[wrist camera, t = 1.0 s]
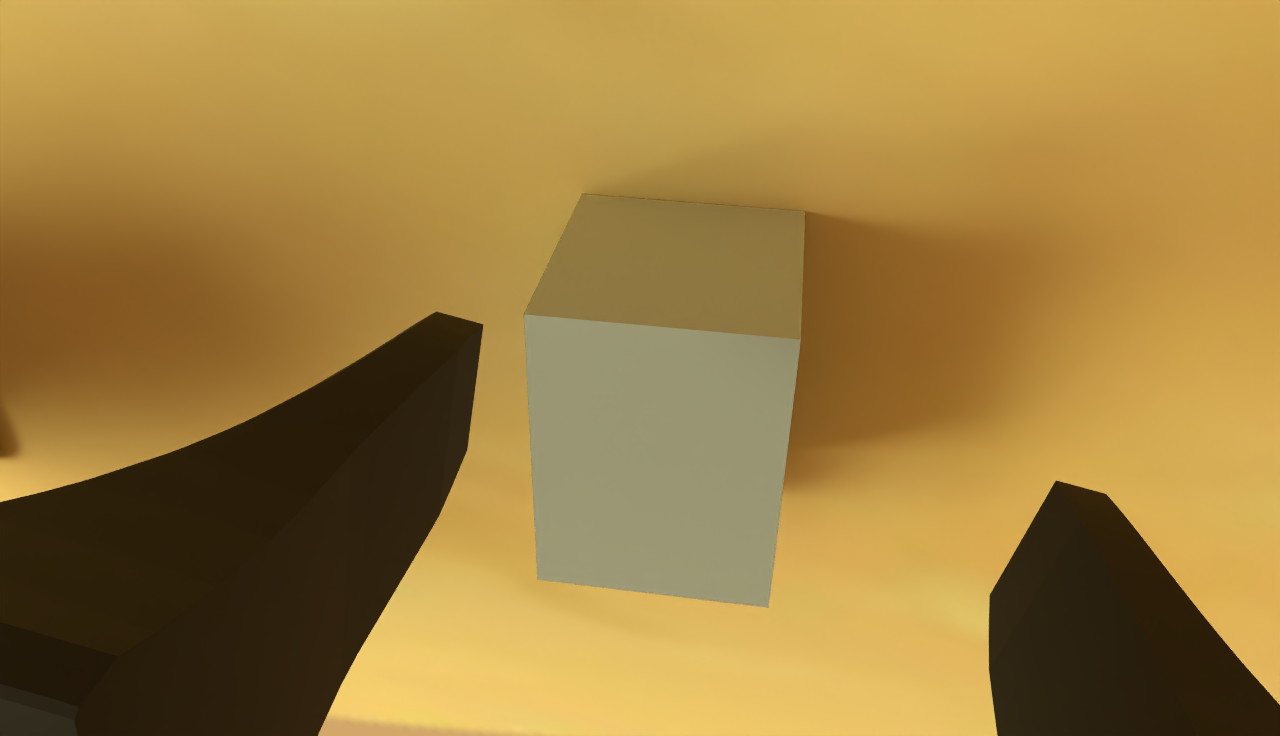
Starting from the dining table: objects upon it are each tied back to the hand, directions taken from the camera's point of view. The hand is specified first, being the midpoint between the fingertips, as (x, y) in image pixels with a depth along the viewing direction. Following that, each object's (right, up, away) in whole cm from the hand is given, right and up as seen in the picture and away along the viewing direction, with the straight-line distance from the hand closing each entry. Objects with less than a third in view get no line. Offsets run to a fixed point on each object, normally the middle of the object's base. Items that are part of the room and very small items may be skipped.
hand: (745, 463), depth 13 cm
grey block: (0, +2, +10) cm, 10 cm away
